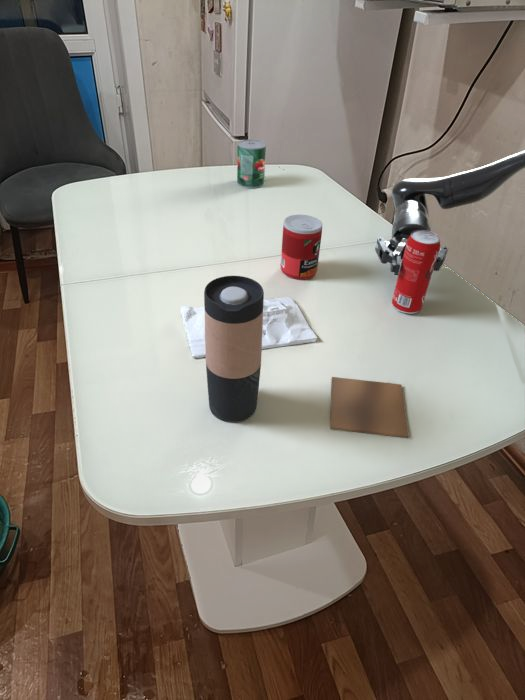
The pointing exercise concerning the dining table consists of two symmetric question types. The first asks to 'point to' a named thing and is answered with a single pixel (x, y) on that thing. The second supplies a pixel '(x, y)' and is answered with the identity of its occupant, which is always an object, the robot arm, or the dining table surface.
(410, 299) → the beverage can
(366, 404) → the cork mat
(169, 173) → the dining table surface
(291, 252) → the canned food
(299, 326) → the terrain model
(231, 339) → the travel mug
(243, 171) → the canned tomato
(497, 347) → the dining table surface
